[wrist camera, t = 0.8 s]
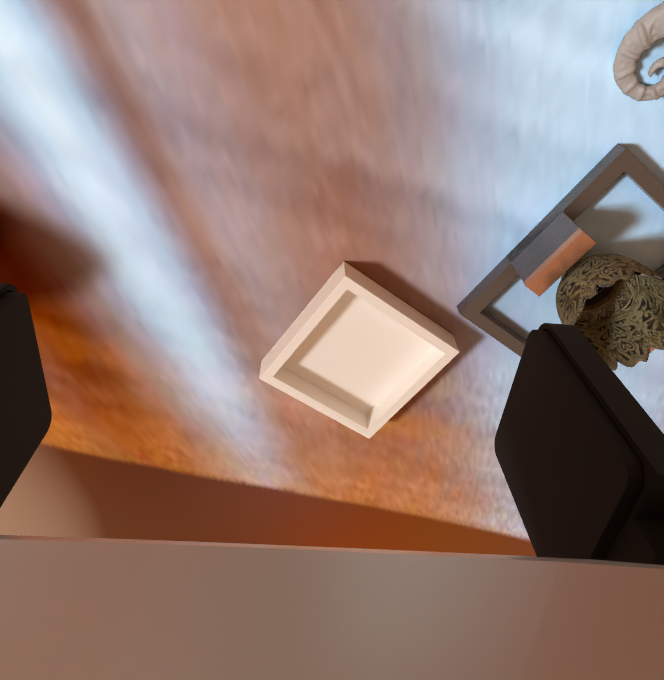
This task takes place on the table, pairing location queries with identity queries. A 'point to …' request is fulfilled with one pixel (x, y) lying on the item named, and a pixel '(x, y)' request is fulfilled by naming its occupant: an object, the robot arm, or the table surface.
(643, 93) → the seahorse
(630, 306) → the cup
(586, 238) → the frame
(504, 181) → the table surface
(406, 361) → the tray
